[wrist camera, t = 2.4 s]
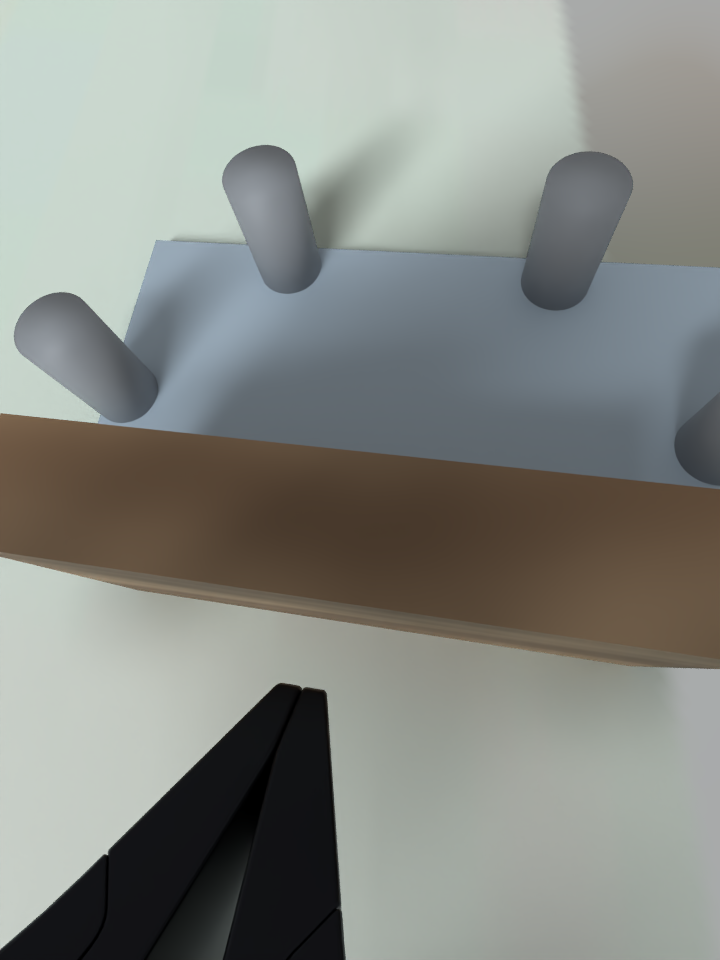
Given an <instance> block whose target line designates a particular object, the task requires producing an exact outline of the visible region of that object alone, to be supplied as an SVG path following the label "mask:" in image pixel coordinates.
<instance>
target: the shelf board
mask: <svg viewBox="0 0 720 960" xmlns="http://www.w3.org/2000/svg"><path fill="white" fill-rule="evenodd" d="M0 557H4V558H8V559H12V560H16V561H21V562H25V563H29V564H33V565H37V566H41V567H45V568H49V569H54V570H58V571H62V572H66V573H70V574H74V575H78V576H82V577H87V578H91V579H95V580H99V581H103V582H107V583H111V584H115V585H120V586H124V587H128V588H132V589H136V590H141V591H148V592H154V593H161V594H167V595H174V596H180V597H187V598H193V599H200V600H206V601H212V602H219V603H225V604H232V605H238V606H245V607H251V608H258V609H264V610H271V611H277V612H284V613H290V614H297V615H303V616H310V617H316V618H323V619H329V620H335V621H342V622H348V623H355V624H361V625H368V626H374V627H381V628H387V629H394V630H400V631H407V632H413V633H420V634H426V635H433V636H439V637H446V638H452V639H459V640H465V641H471V642H478V643H484V644H491V645H497V646H504V647H510V648H517V649H523V650H530V651H536V652H543V653H549V654H556V655H562V656H569V657H575V658H582V659H588V660H594V661H601V662H607V663H614V664H620V665H627V666H643V667H673V668H704V669H705V668H706V669H720V489H713V488H703V487H694V486H684V485H675V484H665V483H656V482H647V481H637V480H628V479H618V478H609V477H599V476H590V475H580V474H571V473H561V472H552V471H542V470H533V469H523V468H514V467H504V466H495V465H485V464H476V463H466V462H457V461H447V460H438V459H428V458H419V457H410V456H400V455H391V454H381V453H372V452H362V451H353V450H343V449H334V448H324V447H315V446H305V445H296V444H286V443H277V442H267V441H258V440H248V439H239V438H229V437H220V436H210V435H201V434H191V433H182V432H173V431H163V430H154V429H144V428H135V427H125V426H116V425H106V424H97V423H87V422H78V421H68V420H59V419H49V418H40V417H30V416H21V415H11V414H2V413H1V415H0Z"/></svg>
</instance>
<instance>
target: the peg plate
mask: <svg viewBox="0 0 720 960" xmlns="http://www.w3.org/2000/svg"><path fill="white" fill-rule="evenodd" d="M222 183H223V187H224V190H225V192H226V195H227V197H228V199H229V202H230V204H231V206H232V209H233V211H234V213H235V216H236V218H237V220H238V223H239V225H240V227H241V230H242V232H243V235H244V237H245V239H246V242H247V244H248V245H244V244H224V243H203V242H183V241H162V240H156V242H155V245H154V249H153V252H152V255H151V258H150V261H149V264H148V267H147V271H146V274H145V277H144V280H143V283H142V286H141V289H140V293H139V296H138V299H137V302H136V305H135V308H134V311H133V314H132V318H131V321H130V324H129V327H128V330H127V333H126V336H125V340H124V343H123V342H122V341H121V340H120V339H119V338H118V336H117V335H116V334H115V333H114V332H113V331H112V330H111V329H110V328H109V327H108V326H107V325H106V324H105V323H104V322H103V321H102V320H101V319H100V318H99V317H98V315H97V314H96V313H95V312H94V311H93V310H92V309H91V308H90V307H89V306H88V305H87V304H86V303H85V302H84V301H83V300H82V299H81V298H80V297H78V296H76V295H74V294H71V293H65V292H59V293H52V294H49V295H46V296H43V297H41V298H39V299H38V300H36V301H34V302H33V303H32V304H31V305H29V306H28V307H27V308H26V309H25V310H24V312H23V313H22V314H21V316H20V317H19V319H18V321H17V323H16V326H15V331H14V341H15V345H16V347H17V349H18V351H19V352H20V353H21V354H22V355H23V356H24V357H26V358H27V359H28V360H30V361H31V362H32V363H34V364H35V365H36V366H37V367H39V368H40V369H41V370H43V371H44V372H45V373H47V374H48V375H49V376H51V377H52V378H53V379H55V380H56V381H57V382H59V383H60V384H61V385H63V386H64V387H65V388H67V389H68V390H69V391H71V392H72V393H73V394H75V395H76V396H77V397H79V398H80V399H81V400H82V401H84V402H85V403H86V404H88V405H89V406H90V407H92V408H93V409H94V410H96V411H97V412H98V413H100V414H101V415H100V418H99V421H98V424H106V425H116V426H125V427H135V428H144V429H154V430H163V431H173V432H182V433H191V434H201V435H210V436H220V437H229V438H239V439H248V440H258V441H267V442H277V443H286V444H296V445H305V446H315V447H324V448H334V449H343V450H353V451H362V452H372V453H381V454H391V455H400V456H410V457H419V458H428V459H438V460H447V461H457V462H466V463H476V464H485V465H495V466H504V467H514V468H523V469H533V470H542V471H552V472H561V473H571V474H580V475H590V476H599V477H609V478H618V479H628V480H637V481H647V482H656V483H665V484H675V485H684V486H694V487H703V488H713V489H720V268H714V267H694V266H674V265H653V264H633V263H613V262H601V260H602V258H603V256H604V254H605V251H606V249H607V247H608V245H609V242H610V240H611V238H612V236H613V233H614V231H615V229H616V227H617V224H618V222H619V220H620V218H621V215H622V213H623V211H624V209H625V207H626V204H627V202H628V200H629V198H630V195H631V193H632V189H633V180H632V176H631V174H630V172H629V170H628V169H627V168H626V166H625V165H624V164H623V163H622V162H620V161H619V160H618V159H616V158H614V157H612V156H610V155H607V154H604V153H599V152H579V153H574V154H571V155H569V156H566V157H564V158H563V159H561V160H559V161H558V162H557V163H556V164H555V165H554V166H553V167H552V168H551V170H550V171H549V173H548V176H547V179H546V183H545V187H544V191H543V195H542V199H541V203H540V207H539V211H538V215H537V218H536V222H535V226H534V230H533V234H532V238H531V242H530V246H529V250H528V254H527V258H510V257H490V256H470V255H449V254H429V253H408V252H388V251H367V250H347V249H326V248H317V245H316V241H315V237H314V233H313V229H312V226H311V222H310V218H309V214H308V210H307V206H306V202H305V199H304V195H303V191H302V187H301V183H300V179H299V176H298V172H297V168H296V164H295V161H294V159H293V157H292V156H291V155H290V154H289V153H288V152H287V151H285V150H284V149H282V148H279V147H276V146H271V145H261V146H255V147H251V148H248V149H246V150H244V151H242V152H240V153H239V154H237V155H236V156H235V157H234V158H232V159H231V161H230V162H229V163H228V164H227V166H226V168H225V170H224V172H223V177H222Z"/></svg>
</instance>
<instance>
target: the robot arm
mask: <svg viewBox="0 0 720 960" xmlns="http://www.w3.org/2000/svg"><path fill="white" fill-rule="evenodd" d="M0 960H346V956H345V946H344V933H343V918H342V911H341V893H340V879H339V864H338V850H337V835H336V820H335V806H334V791H333V777H332V762H331V748H330V733H329V718H328V704H327V693H326V692H325V691H324V690H320V689H314V688H309V687H305V688H303V690H302V688H301V687H300V686H297V685H291V684H286V683H279V684H277V685H276V686H275V687H274V688H273V689H272V690H271V691H270V692H269V693H267V694H266V695H265V696H264V697H263V698H262V699H261V700H260V701H259V702H258V703H257V704H256V705H255V706H254V707H253V708H252V709H251V710H250V711H249V712H248V713H247V714H246V715H245V716H244V717H243V718H242V719H241V720H240V721H239V722H238V723H237V724H236V725H235V726H234V727H233V728H232V729H231V730H230V731H229V732H228V733H227V734H226V735H225V736H224V737H223V738H222V739H221V740H220V741H219V742H218V743H217V744H216V745H215V746H214V747H213V748H212V749H211V750H210V751H209V752H208V753H207V754H206V755H205V756H204V757H203V758H201V759H200V760H199V761H198V762H197V763H196V764H195V765H194V766H193V767H192V768H191V769H190V770H189V771H188V772H187V773H186V774H185V775H184V776H183V777H182V778H181V779H180V780H179V781H178V782H177V783H176V784H175V785H174V786H173V787H172V788H171V789H170V790H169V791H168V792H167V793H166V794H165V795H164V796H163V797H162V798H161V799H160V800H159V801H158V802H157V803H156V804H155V805H154V806H153V807H152V808H151V809H150V810H149V811H148V812H147V813H146V814H145V815H144V816H143V817H142V818H141V819H140V820H139V821H137V822H136V823H135V824H134V825H133V826H132V827H131V828H130V829H129V830H128V831H127V832H126V833H125V834H124V835H123V836H122V837H121V838H120V839H119V840H118V841H117V842H116V843H115V844H114V845H113V846H112V847H111V848H110V849H109V851H108V855H106V854H104V855H103V856H102V857H101V858H100V859H99V860H97V861H96V862H95V863H94V864H93V865H92V866H91V867H90V868H89V869H88V870H87V871H86V872H85V873H84V874H83V875H82V876H81V877H80V878H79V879H78V880H77V881H76V882H75V883H74V884H73V885H72V886H71V887H70V888H69V889H68V890H67V891H65V892H64V893H63V894H62V895H61V896H60V897H59V898H58V899H57V900H56V901H55V902H54V903H53V904H52V905H51V906H50V907H49V908H47V909H46V910H45V911H44V912H43V913H42V914H41V915H40V916H38V917H37V918H36V919H35V920H34V921H33V922H32V923H30V924H29V925H28V926H27V927H26V928H25V929H23V930H22V931H21V932H20V933H19V934H18V935H17V936H15V937H14V938H13V939H12V940H11V941H10V942H8V943H7V944H6V945H5V946H4V947H3V948H2V949H0Z"/></svg>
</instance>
